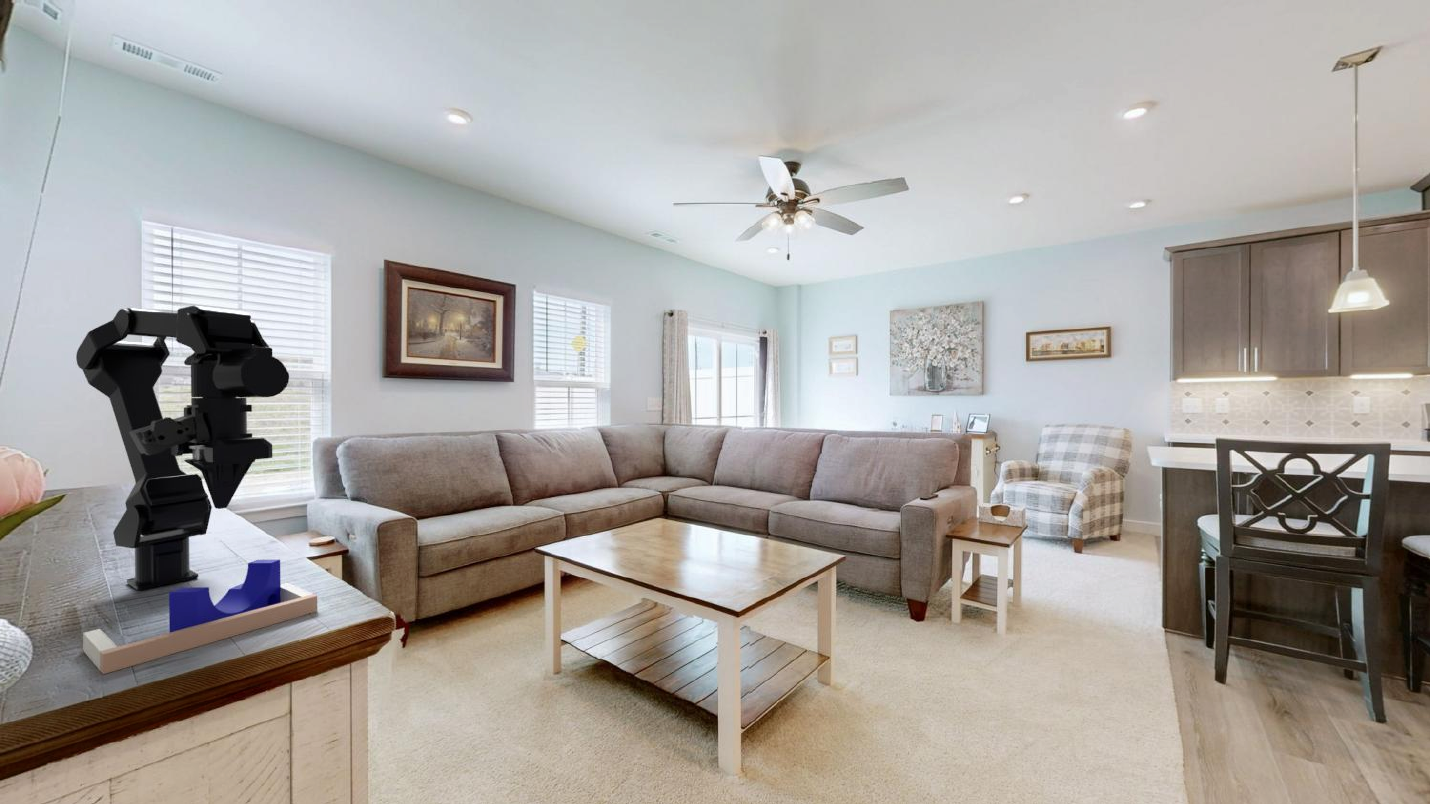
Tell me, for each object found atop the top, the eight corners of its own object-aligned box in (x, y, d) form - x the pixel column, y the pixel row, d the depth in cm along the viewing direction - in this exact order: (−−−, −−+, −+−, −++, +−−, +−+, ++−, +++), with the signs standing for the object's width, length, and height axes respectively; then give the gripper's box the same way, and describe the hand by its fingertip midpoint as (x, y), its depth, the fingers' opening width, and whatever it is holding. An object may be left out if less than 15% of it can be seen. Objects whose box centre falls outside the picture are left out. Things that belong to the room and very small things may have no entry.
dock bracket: (83, 651, 58) (83, 632, 58) (287, 597, 74) (287, 582, 74) (103, 674, 53) (102, 654, 53) (317, 611, 69) (317, 595, 69)
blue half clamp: (246, 604, 72) (246, 559, 72) (280, 603, 72) (280, 559, 72) (155, 645, 60) (155, 592, 60) (197, 645, 60) (196, 592, 60)
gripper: (118, 398, 73) (120, 511, 74) (157, 397, 63) (159, 528, 64) (224, 397, 83) (225, 498, 83) (273, 397, 73) (274, 511, 73)
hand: (221, 508), depth 75 cm, fingers closed
